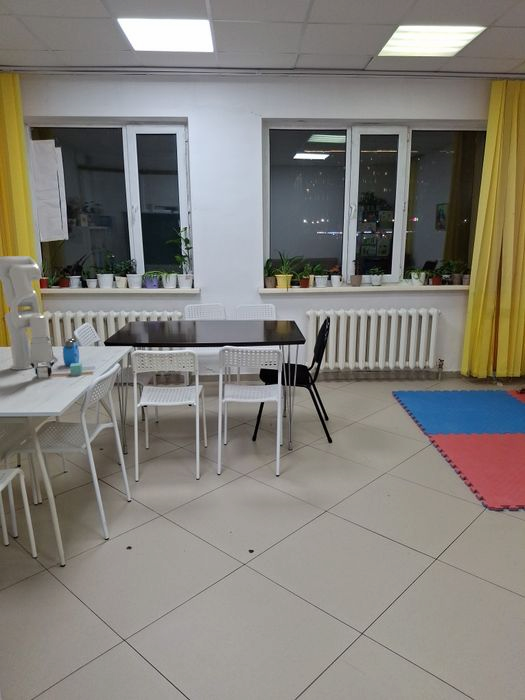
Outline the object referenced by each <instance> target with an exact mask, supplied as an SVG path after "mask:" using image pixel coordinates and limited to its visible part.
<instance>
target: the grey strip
mask: <svg viewBox="0 0 525 700" xmlns="http://www.w3.org/2000/svg"><path fill="white" fill-rule="evenodd" d="M52 362H53V360H52V361H51V363H52ZM41 365H47V362H45V363H40V366H41ZM95 369H96V366H95V365H94V366H93V365H92V366H82V371H94V370H95ZM51 370H52V373H67V372H70V367H62V368H54V365H53V366H52V367H51Z"/></svg>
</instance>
